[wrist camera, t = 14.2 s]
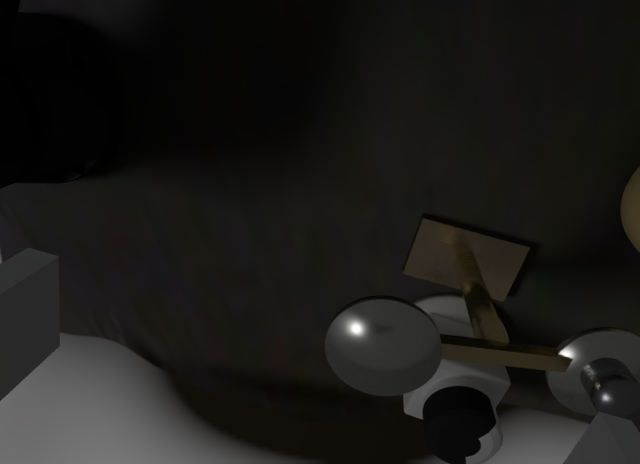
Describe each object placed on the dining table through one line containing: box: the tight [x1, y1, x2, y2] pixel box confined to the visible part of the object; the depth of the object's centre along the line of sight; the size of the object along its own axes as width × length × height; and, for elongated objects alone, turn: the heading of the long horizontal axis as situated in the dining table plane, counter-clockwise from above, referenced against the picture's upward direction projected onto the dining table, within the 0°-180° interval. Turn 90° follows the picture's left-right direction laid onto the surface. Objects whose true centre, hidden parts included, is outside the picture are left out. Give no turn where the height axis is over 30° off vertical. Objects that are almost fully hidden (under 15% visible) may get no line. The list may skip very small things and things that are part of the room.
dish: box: [412, 293, 509, 342], centre depth 47 cm, size 12×12×1 cm
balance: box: [325, 214, 640, 425], centre depth 35 cm, size 22×7×18 cm, turn 76°
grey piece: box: [403, 313, 511, 464], centre depth 41 cm, size 7×7×12 cm
